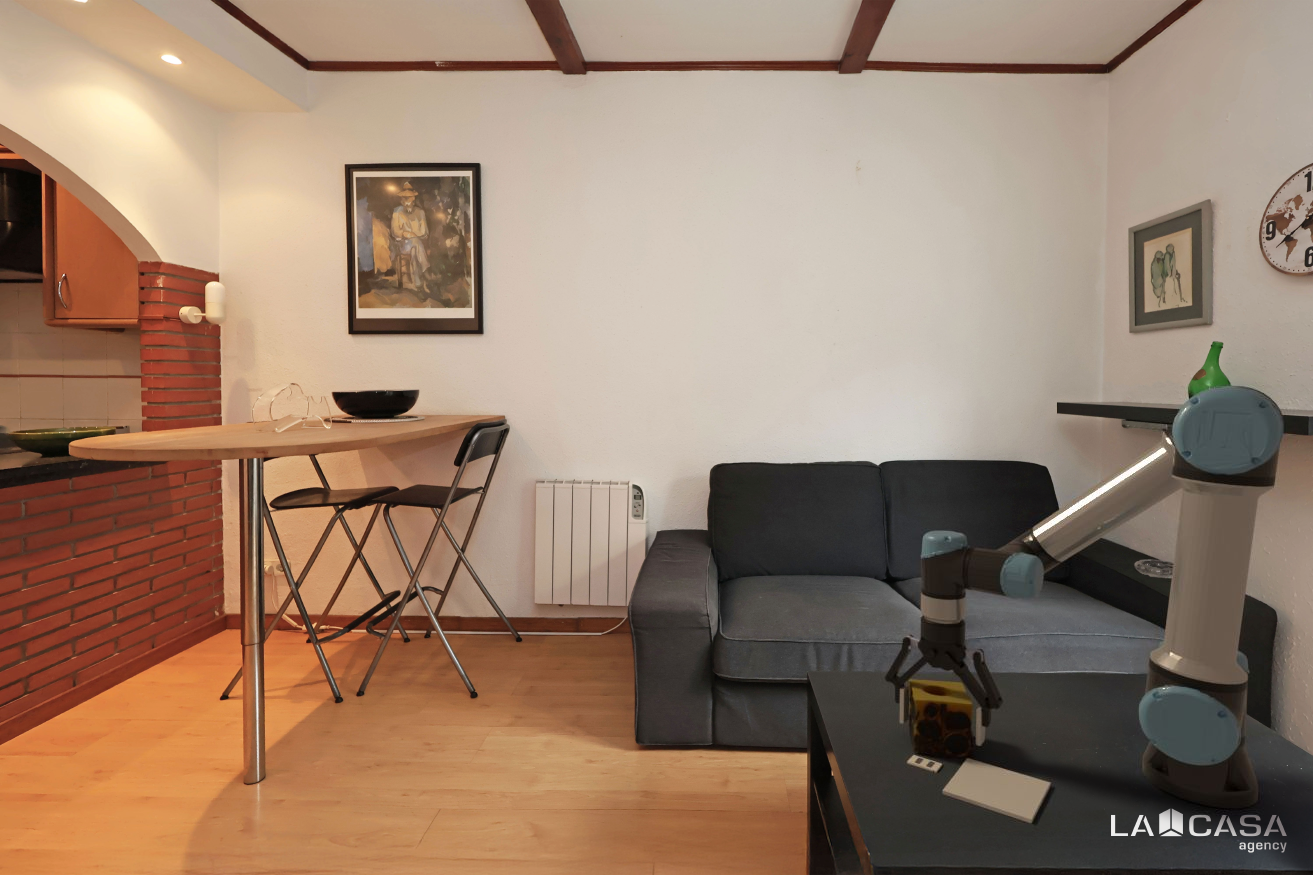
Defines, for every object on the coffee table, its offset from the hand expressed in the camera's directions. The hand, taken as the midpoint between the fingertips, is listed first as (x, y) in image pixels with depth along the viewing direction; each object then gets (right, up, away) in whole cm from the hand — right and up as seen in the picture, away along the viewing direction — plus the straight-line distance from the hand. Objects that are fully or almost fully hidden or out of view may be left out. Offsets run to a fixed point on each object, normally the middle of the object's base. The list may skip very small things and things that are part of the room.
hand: (941, 731), depth 133 cm
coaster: (+3, -3, -15) cm, 16 cm away
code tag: (-6, -3, -7) cm, 9 cm away
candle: (0, -3, 0) cm, 3 cm away
